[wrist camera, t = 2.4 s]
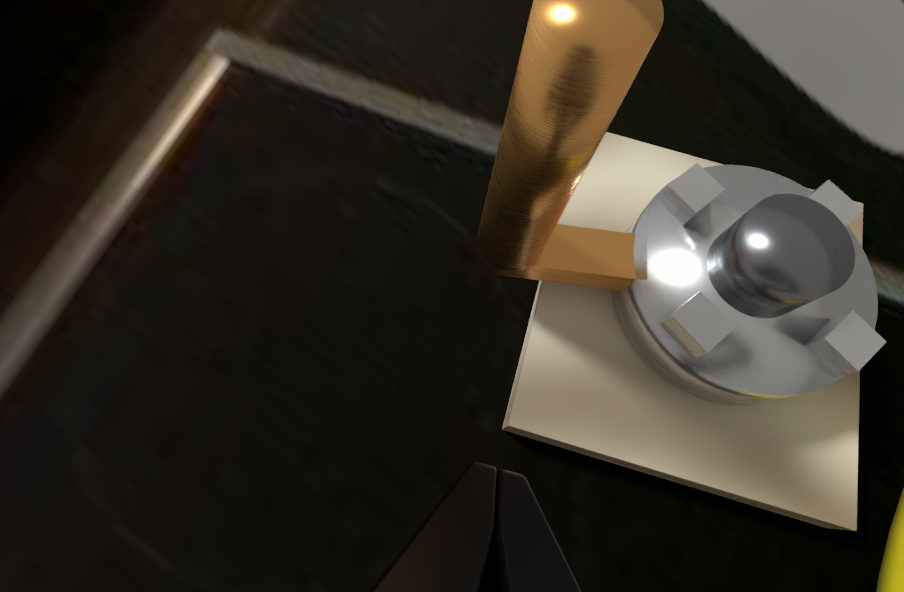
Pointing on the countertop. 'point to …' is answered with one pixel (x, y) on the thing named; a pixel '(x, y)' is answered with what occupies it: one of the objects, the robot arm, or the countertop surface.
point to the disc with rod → (675, 228)
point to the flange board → (661, 403)
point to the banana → (894, 555)
